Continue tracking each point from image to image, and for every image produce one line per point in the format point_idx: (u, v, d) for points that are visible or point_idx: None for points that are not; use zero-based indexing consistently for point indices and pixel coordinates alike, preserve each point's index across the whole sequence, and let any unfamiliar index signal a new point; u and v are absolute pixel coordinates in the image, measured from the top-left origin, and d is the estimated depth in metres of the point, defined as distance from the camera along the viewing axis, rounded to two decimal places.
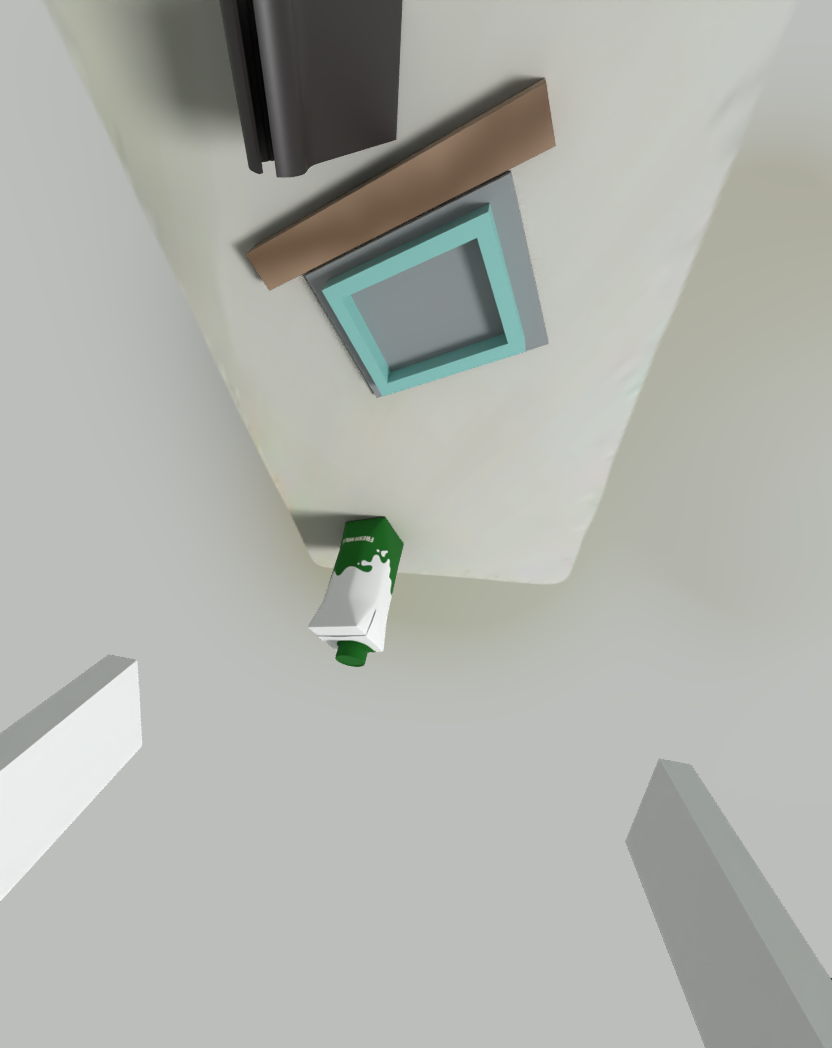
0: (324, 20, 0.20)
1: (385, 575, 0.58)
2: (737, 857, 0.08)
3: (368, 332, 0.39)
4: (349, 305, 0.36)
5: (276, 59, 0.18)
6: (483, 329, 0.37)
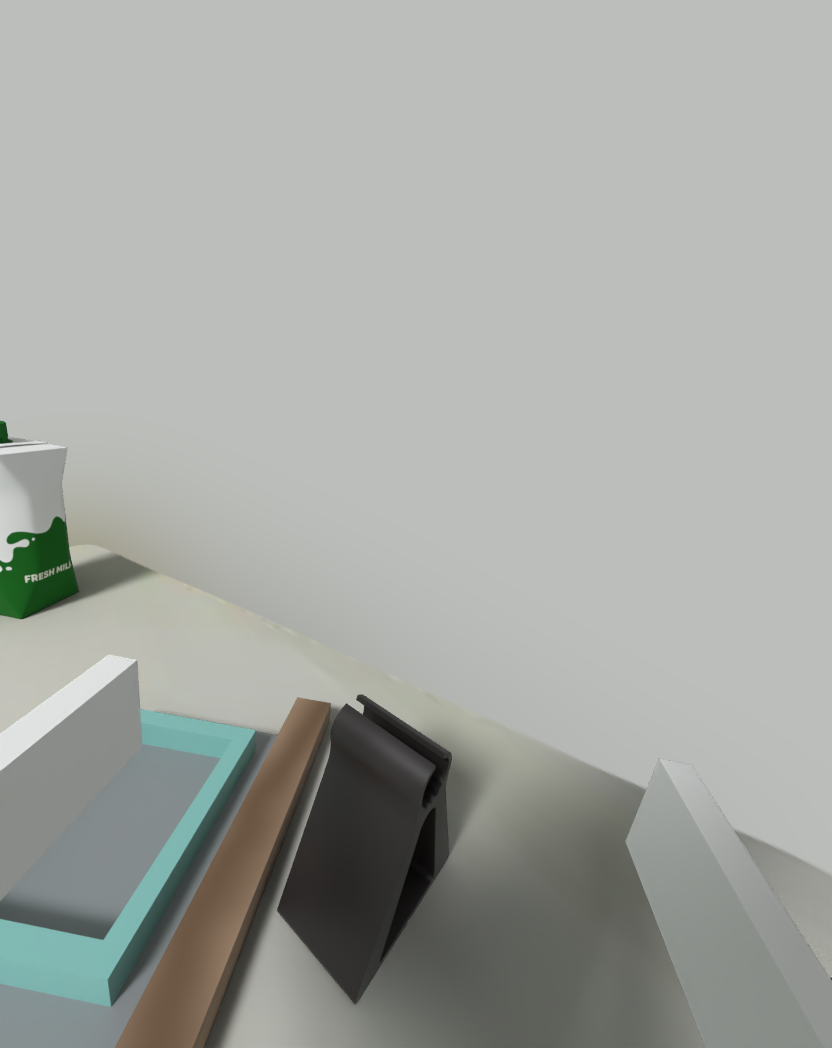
0: (390, 849, 0.21)
1: None
2: (737, 857, 0.08)
3: (182, 747, 0.31)
4: (220, 746, 0.31)
5: (397, 756, 0.21)
6: None
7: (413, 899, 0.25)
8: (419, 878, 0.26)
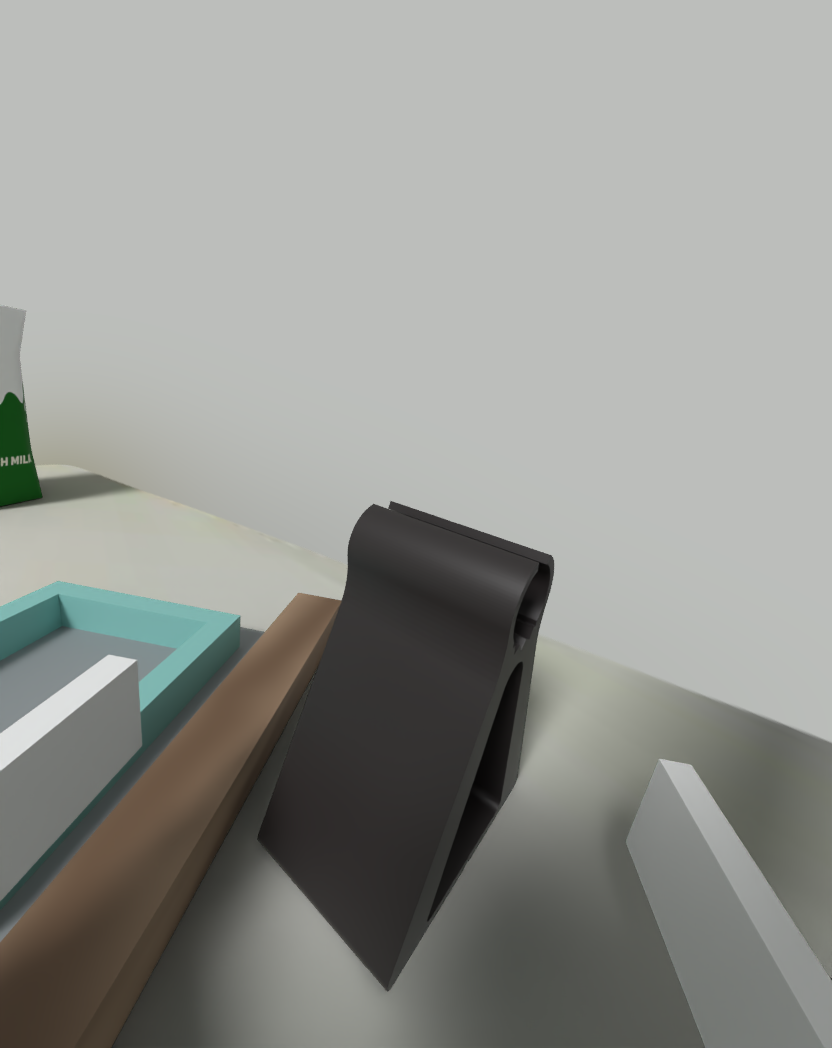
0: (453, 719, 0.12)
1: None
2: (737, 857, 0.08)
3: (138, 634, 0.23)
4: (190, 632, 0.22)
5: (466, 556, 0.12)
6: None
7: (472, 832, 0.16)
8: (478, 805, 0.17)
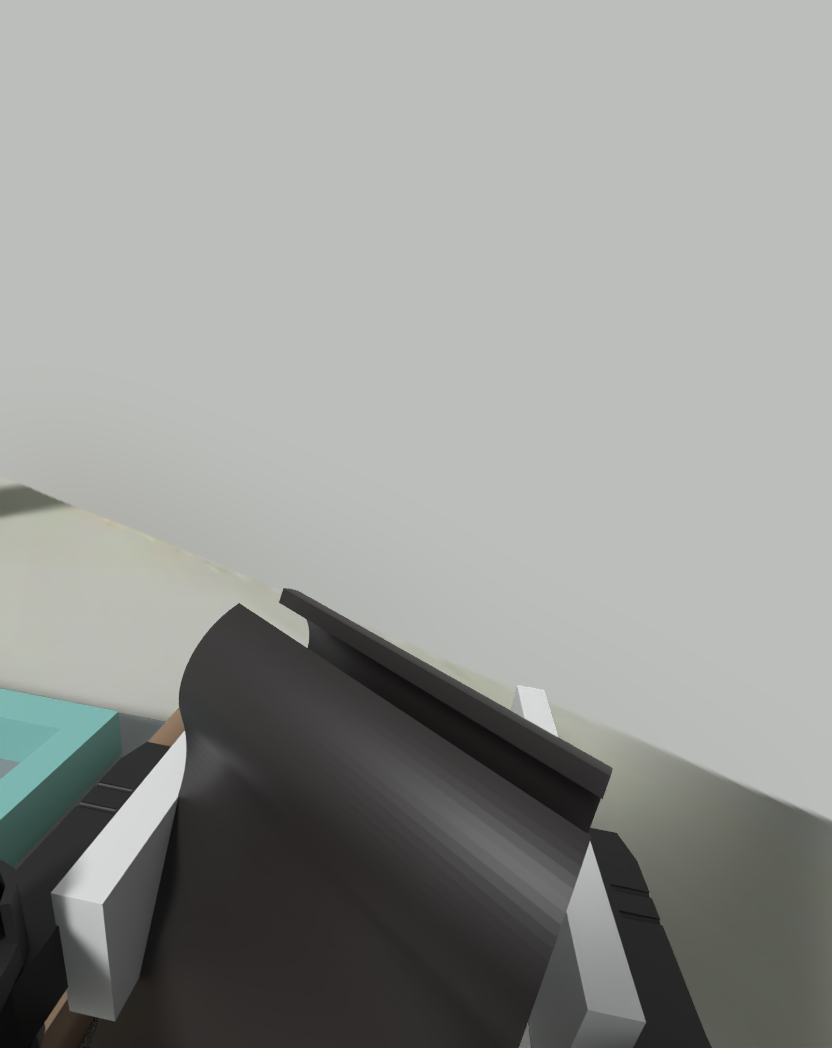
0: None
1: None
2: None
3: None
4: (38, 742, 0.15)
5: (402, 788, 0.05)
6: None
7: None
8: None
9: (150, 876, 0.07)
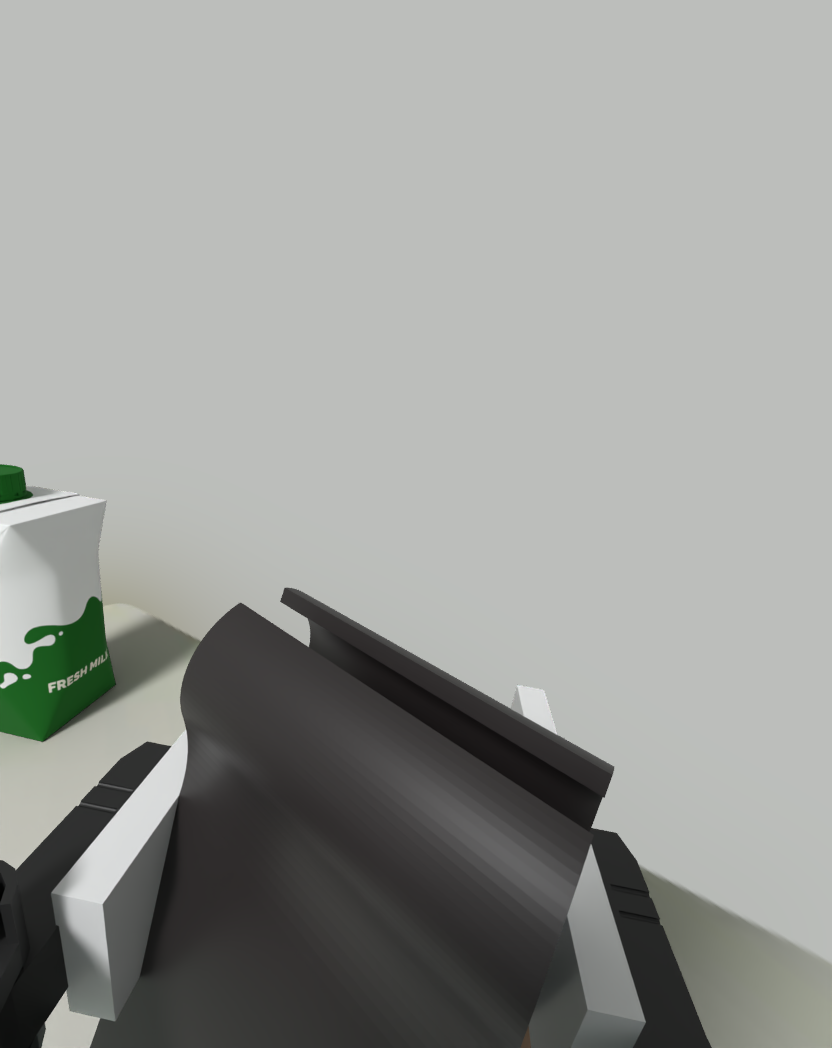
0: None
1: None
2: None
3: None
4: None
5: (404, 786, 0.05)
6: None
7: None
8: None
9: (150, 876, 0.07)
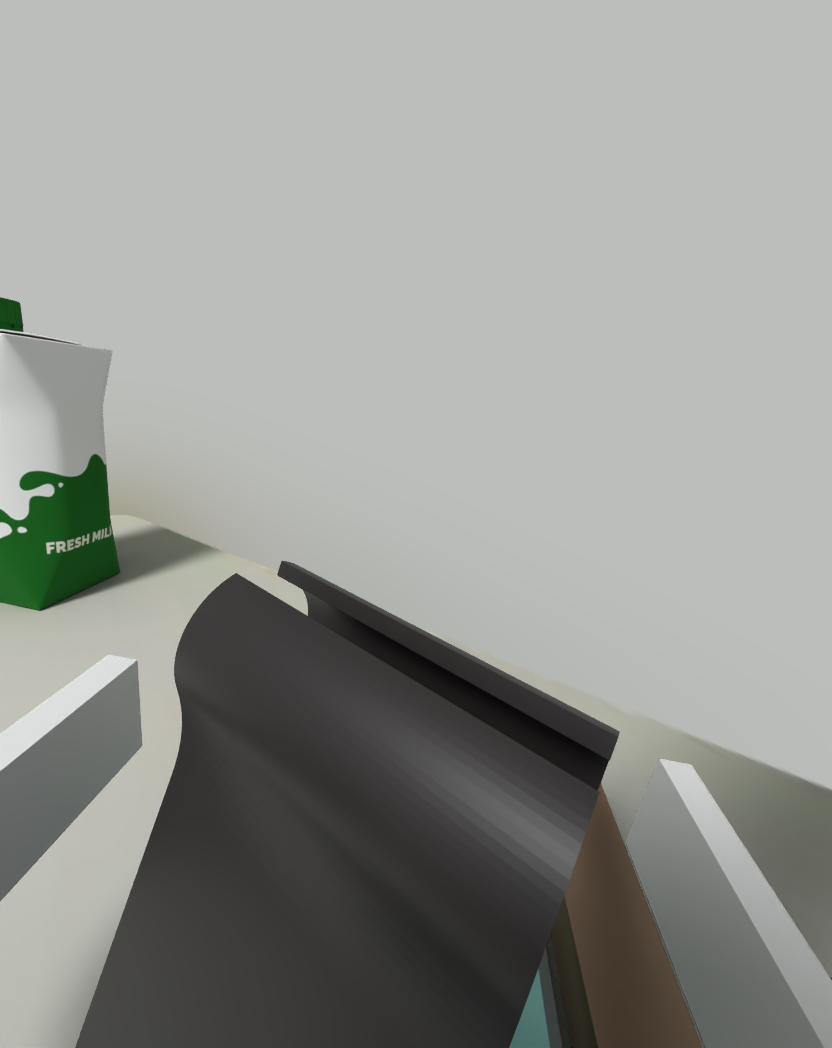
0: None
1: None
2: (737, 857, 0.08)
3: None
4: None
5: (403, 748, 0.04)
6: None
7: None
8: None
9: None
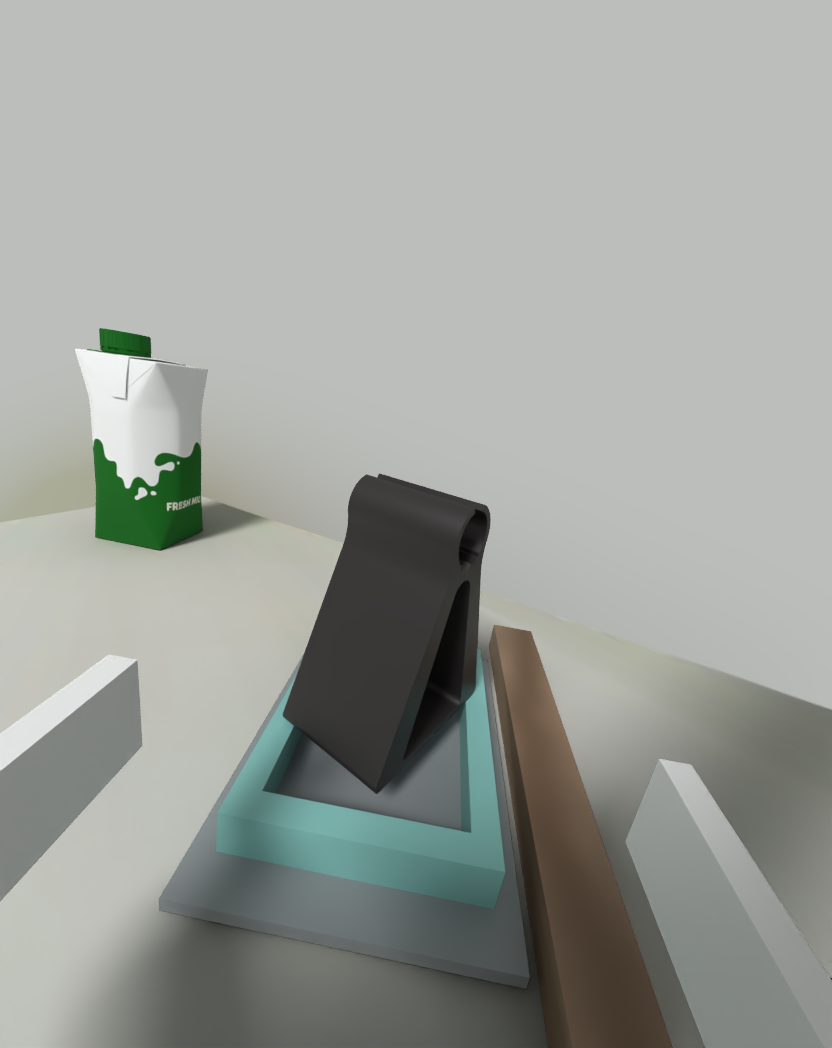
0: (420, 614, 0.17)
1: (124, 461, 0.38)
2: (737, 857, 0.08)
3: None
4: None
5: (428, 505, 0.17)
6: (299, 788, 0.19)
7: (438, 716, 0.22)
8: (444, 702, 0.23)
9: None
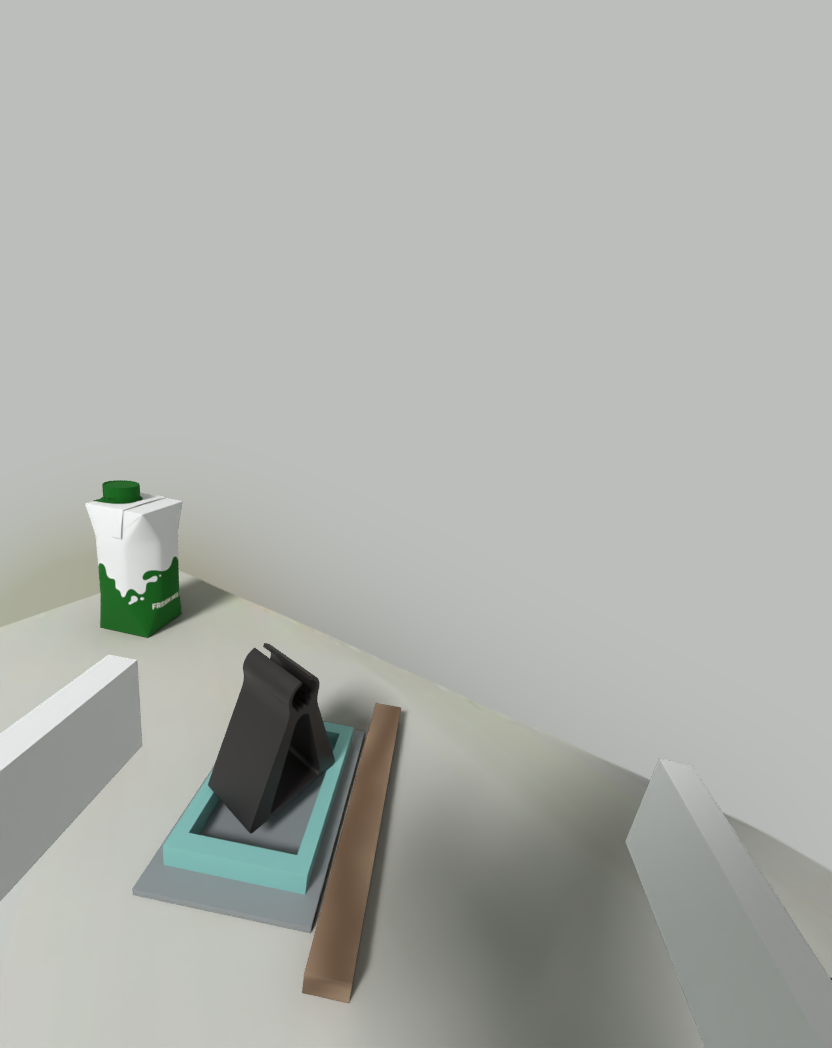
0: (274, 736, 0.32)
1: (121, 578, 0.53)
2: (737, 857, 0.08)
3: None
4: (329, 738, 0.43)
5: (279, 677, 0.32)
6: (215, 828, 0.34)
7: (302, 783, 0.36)
8: (310, 772, 0.38)
9: None
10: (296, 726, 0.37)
